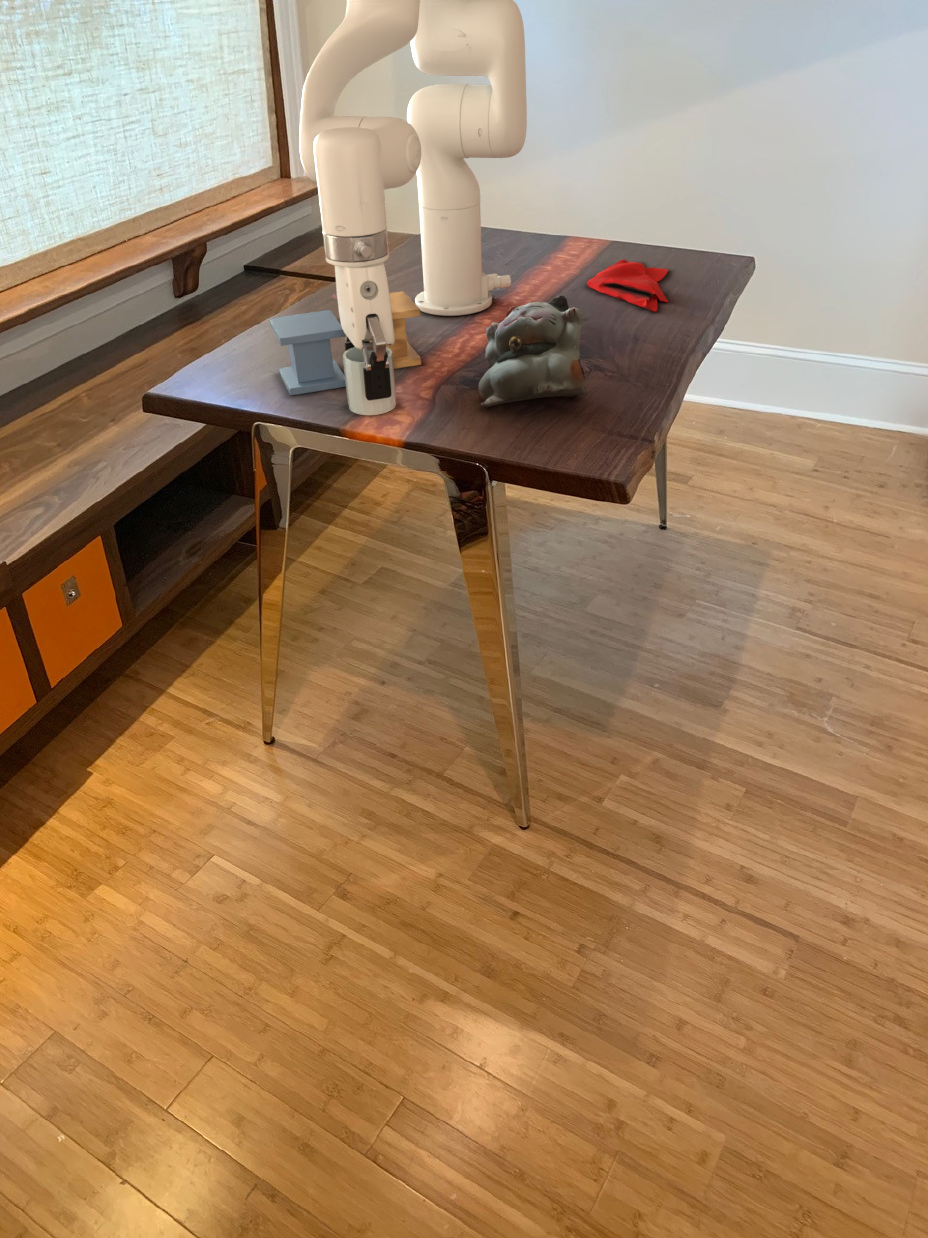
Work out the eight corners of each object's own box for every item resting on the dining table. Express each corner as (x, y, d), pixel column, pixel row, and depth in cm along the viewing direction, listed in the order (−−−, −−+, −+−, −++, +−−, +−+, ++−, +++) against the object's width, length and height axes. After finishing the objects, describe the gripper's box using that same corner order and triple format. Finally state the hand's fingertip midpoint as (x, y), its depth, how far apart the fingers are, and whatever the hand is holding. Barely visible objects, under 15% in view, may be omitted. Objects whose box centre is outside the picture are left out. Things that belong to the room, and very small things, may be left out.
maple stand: (407, 344, 141) (403, 290, 137) (423, 364, 135) (420, 308, 130) (351, 353, 139) (345, 298, 135) (365, 374, 133) (359, 317, 128)
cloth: (594, 262, 171) (594, 249, 170) (671, 264, 169) (672, 250, 168) (579, 310, 151) (580, 295, 150) (667, 313, 149) (668, 298, 147)
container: (389, 392, 127) (384, 341, 123) (401, 410, 122) (397, 358, 118) (344, 400, 126) (338, 348, 122) (355, 418, 121) (349, 365, 117)
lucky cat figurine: (458, 409, 122) (454, 297, 120) (510, 413, 131) (507, 310, 130) (558, 398, 113) (556, 277, 111) (607, 404, 122) (605, 292, 121)
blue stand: (336, 365, 136) (330, 309, 131) (350, 386, 129) (344, 328, 125) (277, 374, 134) (269, 318, 129) (288, 396, 127) (279, 338, 123)
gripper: (407, 260, 106) (416, 404, 116) (369, 226, 120) (380, 358, 130) (341, 268, 104) (356, 414, 114) (310, 232, 118) (326, 366, 128)
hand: (369, 384), depth 122 cm, fingers open, 9 cm apart
